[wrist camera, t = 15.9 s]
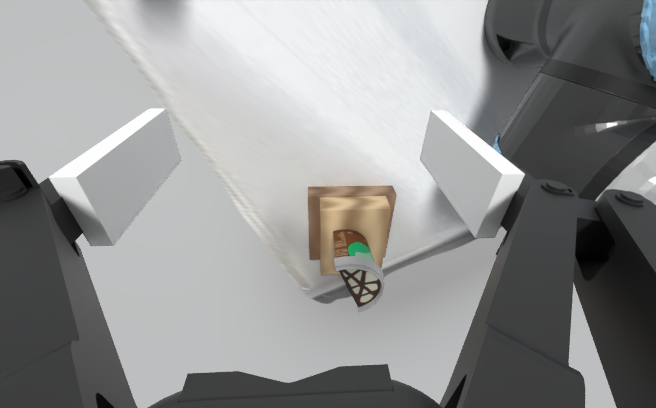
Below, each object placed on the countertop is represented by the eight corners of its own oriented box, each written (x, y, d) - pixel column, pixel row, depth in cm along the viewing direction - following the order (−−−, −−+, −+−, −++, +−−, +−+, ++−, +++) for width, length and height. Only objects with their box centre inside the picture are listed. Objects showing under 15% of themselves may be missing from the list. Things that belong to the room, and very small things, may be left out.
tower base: (391, 183, 55) (396, 194, 52) (380, 244, 65) (384, 257, 61) (308, 184, 55) (308, 196, 51) (309, 246, 64) (309, 259, 60)
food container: (381, 260, 56) (394, 304, 48) (351, 269, 57) (359, 314, 49) (363, 214, 49) (375, 256, 41) (330, 225, 50) (334, 268, 42)
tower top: (385, 195, 52) (391, 208, 49) (376, 258, 61) (380, 272, 58) (319, 197, 52) (320, 210, 48) (320, 260, 61) (321, 274, 58)
